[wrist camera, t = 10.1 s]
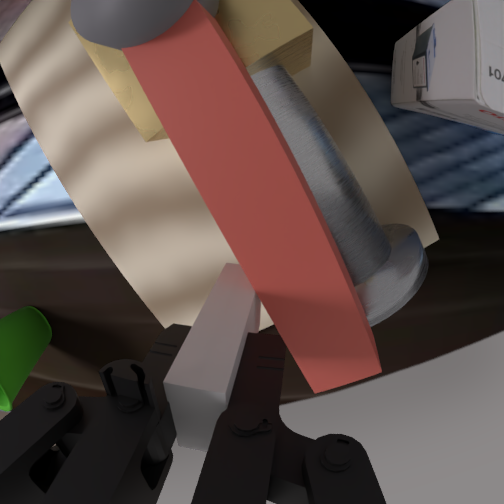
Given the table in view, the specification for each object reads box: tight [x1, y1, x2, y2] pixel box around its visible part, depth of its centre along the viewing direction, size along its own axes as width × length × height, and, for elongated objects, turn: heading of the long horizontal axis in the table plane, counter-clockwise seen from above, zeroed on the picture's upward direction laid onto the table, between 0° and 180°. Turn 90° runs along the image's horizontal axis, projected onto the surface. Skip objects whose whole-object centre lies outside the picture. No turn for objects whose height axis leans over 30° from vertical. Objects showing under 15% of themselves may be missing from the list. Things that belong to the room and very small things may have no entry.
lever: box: [70, 0, 382, 393], centre depth 10 cm, size 18×4×3 cm, turn 28°
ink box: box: [391, 0, 504, 135], centre depth 11 cm, size 9×5×12 cm, turn 87°
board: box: [0, 0, 439, 331], centre depth 19 cm, size 36×22×1 cm, turn 34°
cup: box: [0, 306, 52, 411], centre depth 26 cm, size 9×9×11 cm
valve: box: [68, 0, 428, 327], centre depth 14 cm, size 32×8×8 cm, turn 34°
